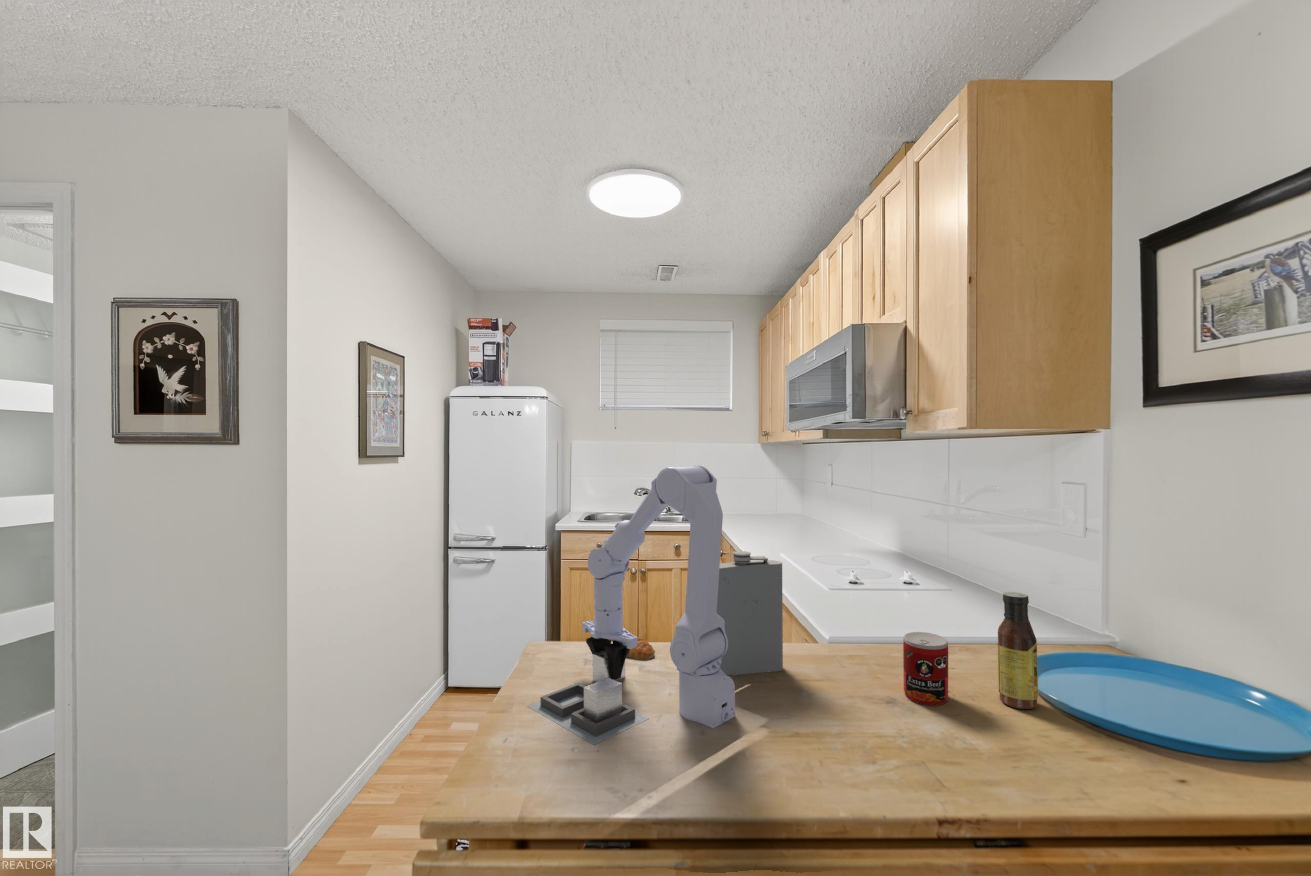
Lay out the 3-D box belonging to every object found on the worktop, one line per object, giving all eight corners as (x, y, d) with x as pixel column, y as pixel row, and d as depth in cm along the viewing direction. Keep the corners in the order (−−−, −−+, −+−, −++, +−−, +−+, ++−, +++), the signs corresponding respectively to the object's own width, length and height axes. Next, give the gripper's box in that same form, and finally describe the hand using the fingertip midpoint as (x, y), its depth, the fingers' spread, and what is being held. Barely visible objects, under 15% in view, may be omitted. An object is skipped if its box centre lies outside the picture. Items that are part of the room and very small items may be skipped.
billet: (622, 718, 101) (622, 683, 101) (597, 729, 97) (597, 693, 97) (608, 711, 103) (608, 677, 103) (584, 722, 99) (583, 687, 99)
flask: (775, 662, 128) (774, 547, 128) (785, 670, 124) (784, 551, 124) (700, 671, 123) (699, 552, 123) (708, 680, 119) (707, 556, 119)
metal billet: (625, 680, 118) (625, 650, 118) (604, 689, 114) (604, 658, 114) (613, 675, 120) (613, 646, 120) (592, 684, 117) (592, 653, 117)
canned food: (901, 701, 109) (901, 641, 109) (905, 684, 116) (905, 629, 116) (947, 709, 106) (947, 648, 106) (949, 692, 113) (948, 635, 113)
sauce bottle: (1044, 712, 104) (1044, 600, 104) (1005, 709, 106) (1005, 598, 105) (1028, 696, 111) (1028, 590, 111) (992, 693, 112) (992, 589, 112)
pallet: (649, 725, 101) (649, 708, 101) (594, 752, 92) (594, 734, 92) (580, 691, 114) (580, 677, 114) (527, 712, 106) (527, 696, 106)
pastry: (662, 656, 132) (662, 639, 132) (641, 666, 127) (641, 648, 127) (632, 646, 139) (632, 630, 139) (611, 655, 134) (611, 638, 134)
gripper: (570, 604, 120) (570, 671, 120) (617, 619, 109) (618, 692, 109) (597, 597, 125) (597, 661, 125) (645, 611, 114) (645, 681, 114)
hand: (609, 675), depth 117 cm, fingers closed on metal billet, 3 cm apart
